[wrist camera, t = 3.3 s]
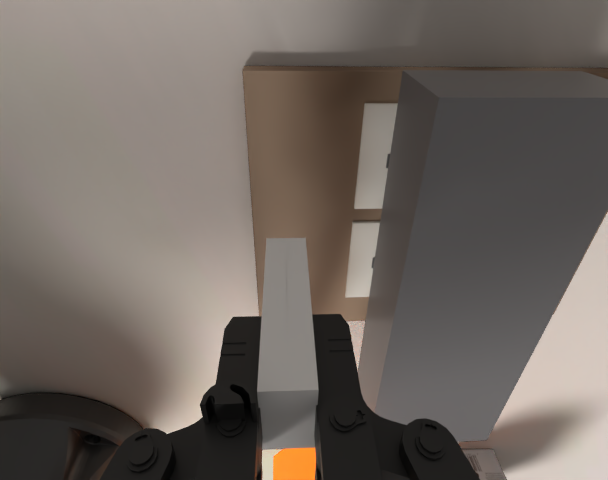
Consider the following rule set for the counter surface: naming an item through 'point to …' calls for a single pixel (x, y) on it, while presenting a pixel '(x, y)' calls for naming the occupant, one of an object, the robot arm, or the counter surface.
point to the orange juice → (295, 464)
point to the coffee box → (485, 464)
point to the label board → (327, 169)
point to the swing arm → (478, 236)
